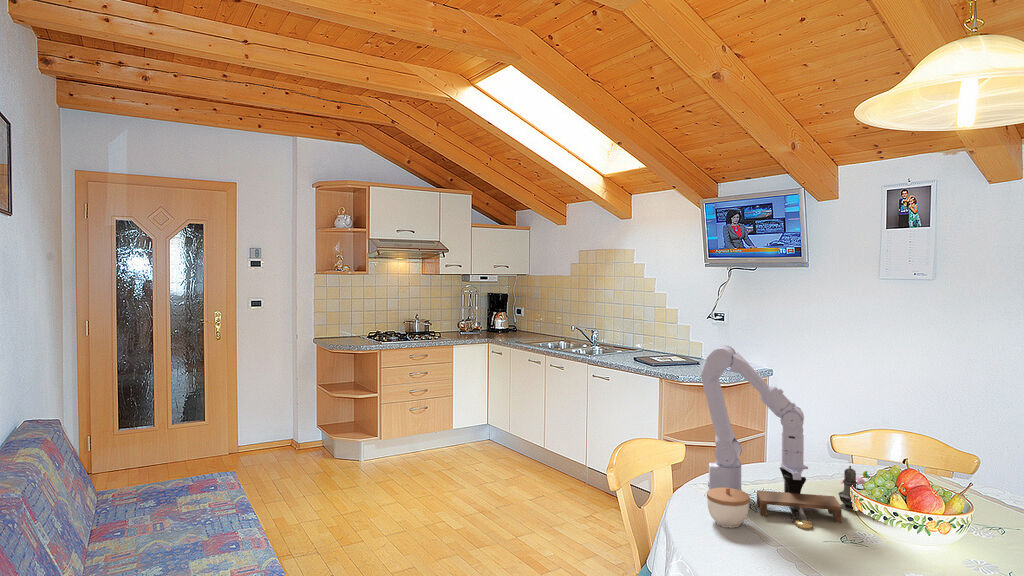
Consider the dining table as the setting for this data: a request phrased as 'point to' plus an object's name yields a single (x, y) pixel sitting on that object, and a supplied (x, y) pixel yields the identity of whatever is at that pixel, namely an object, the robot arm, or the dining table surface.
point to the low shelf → (799, 502)
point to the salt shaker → (848, 488)
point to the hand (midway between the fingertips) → (792, 496)
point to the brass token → (804, 524)
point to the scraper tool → (795, 509)
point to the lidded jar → (728, 506)
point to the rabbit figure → (860, 480)
